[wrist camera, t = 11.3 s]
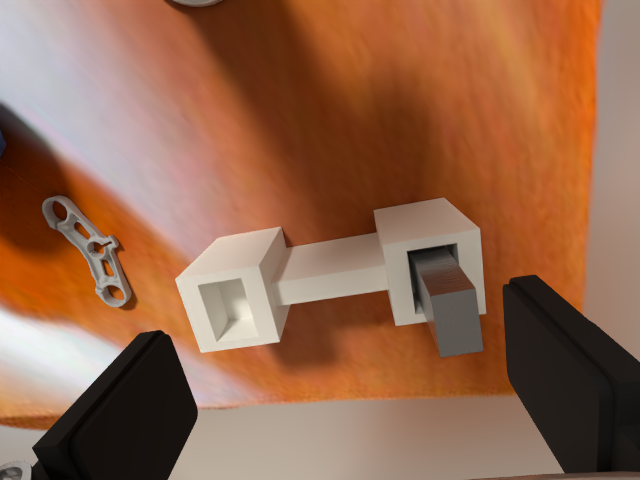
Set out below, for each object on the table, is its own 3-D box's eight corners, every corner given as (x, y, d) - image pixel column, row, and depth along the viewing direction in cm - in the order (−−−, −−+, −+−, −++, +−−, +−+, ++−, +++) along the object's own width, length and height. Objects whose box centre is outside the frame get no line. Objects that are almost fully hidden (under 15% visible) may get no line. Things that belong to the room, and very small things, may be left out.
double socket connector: (217, 237, 45) (175, 279, 34) (444, 197, 42) (480, 228, 31) (235, 295, 48) (201, 352, 36) (450, 262, 44) (486, 313, 33)
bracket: (80, 311, 49) (34, 200, 44) (89, 304, 50) (47, 196, 45) (134, 305, 48) (93, 191, 43) (141, 298, 50) (104, 188, 45)
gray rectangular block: (405, 242, 36) (430, 296, 25) (437, 236, 35) (475, 288, 25) (414, 288, 37) (440, 357, 27) (444, 283, 37) (483, 350, 26)
